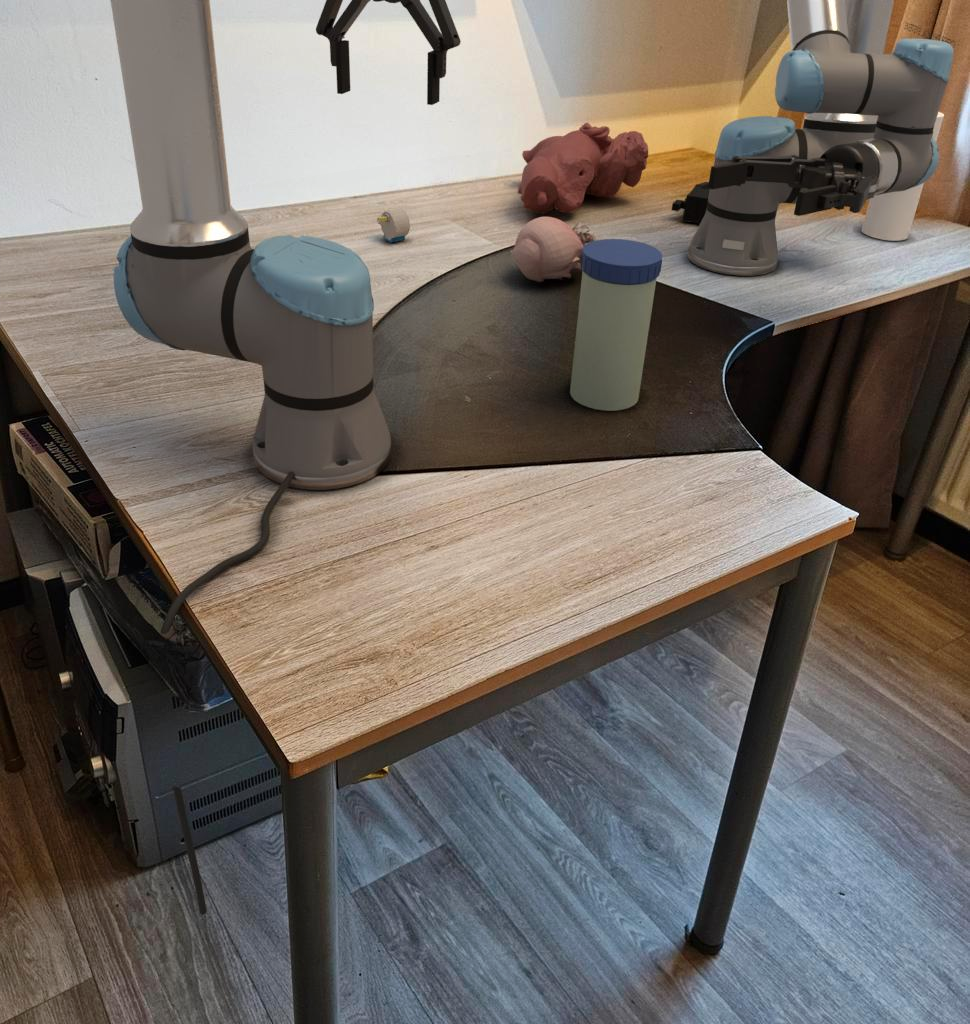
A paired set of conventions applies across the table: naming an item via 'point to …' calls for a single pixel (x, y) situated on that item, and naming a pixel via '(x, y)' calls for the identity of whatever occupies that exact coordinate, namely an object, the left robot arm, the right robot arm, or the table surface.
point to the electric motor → (394, 225)
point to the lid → (621, 261)
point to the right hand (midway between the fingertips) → (753, 190)
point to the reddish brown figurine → (580, 168)
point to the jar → (610, 343)
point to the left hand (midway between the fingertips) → (388, 97)
